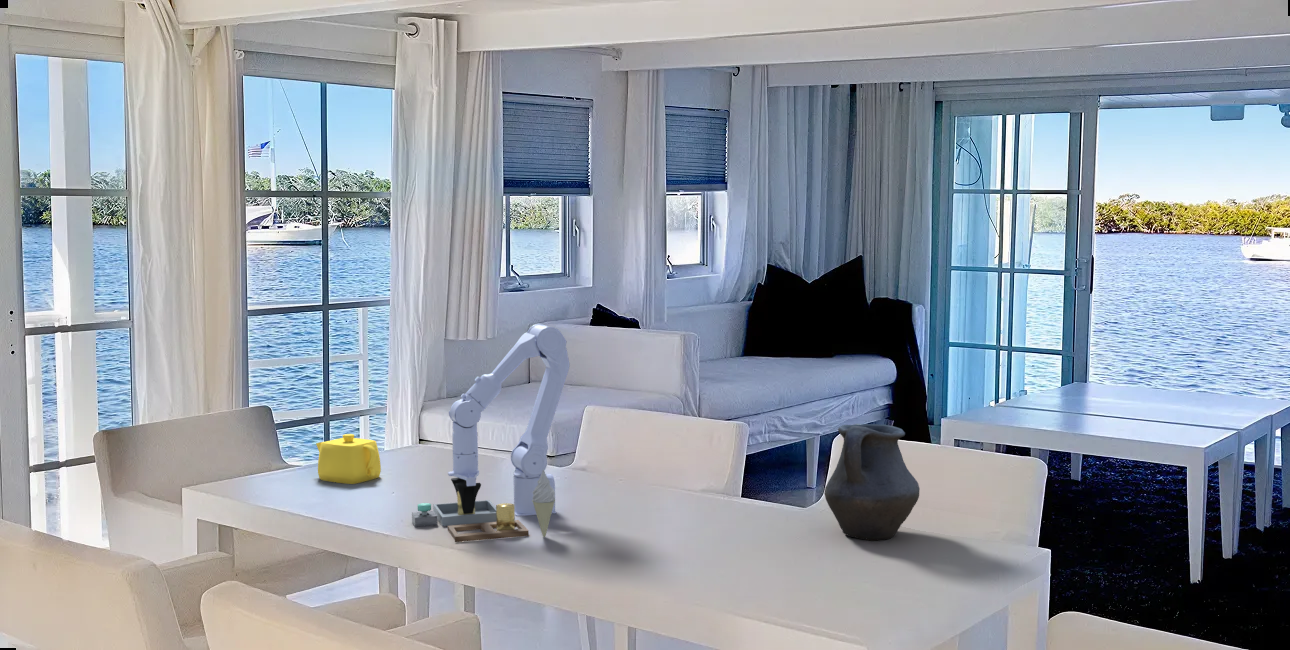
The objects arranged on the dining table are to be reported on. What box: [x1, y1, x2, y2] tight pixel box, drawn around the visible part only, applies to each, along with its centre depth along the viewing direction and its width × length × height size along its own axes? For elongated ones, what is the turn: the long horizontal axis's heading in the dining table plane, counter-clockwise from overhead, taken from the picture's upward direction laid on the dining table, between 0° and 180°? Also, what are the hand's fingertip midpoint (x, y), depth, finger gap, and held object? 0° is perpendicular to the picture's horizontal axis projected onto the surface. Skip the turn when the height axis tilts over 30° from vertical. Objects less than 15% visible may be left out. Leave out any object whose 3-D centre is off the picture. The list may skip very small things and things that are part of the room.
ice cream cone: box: [532, 469, 556, 538], centre depth 280 cm, size 5×5×15 cm
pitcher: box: [823, 423, 920, 542], centre depth 279 cm, size 21×22×25 cm
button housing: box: [411, 510, 439, 528], centre depth 291 cm, size 5×5×2 cm
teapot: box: [315, 433, 382, 485], centre depth 342 cm, size 20×12×12 cm, turn 59°
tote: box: [432, 499, 496, 527], centre depth 297 cm, size 13×13×2 cm
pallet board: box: [447, 519, 530, 543], centre depth 284 cm, size 16×10×1 cm, turn 108°
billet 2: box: [495, 502, 516, 531], centre depth 285 cm, size 4×4×6 cm
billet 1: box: [456, 491, 475, 515], centre depth 297 cm, size 4×4×6 cm
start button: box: [417, 502, 432, 516], centre depth 291 cm, size 3×3×4 cm
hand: (466, 510), depth 297 cm, fingers open, 4 cm apart
